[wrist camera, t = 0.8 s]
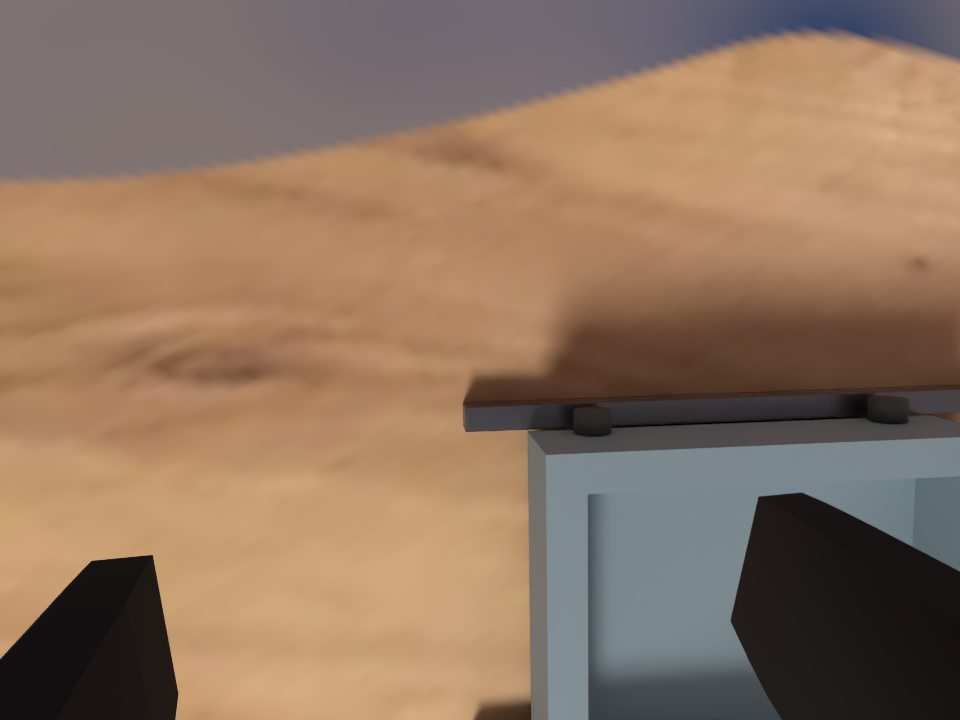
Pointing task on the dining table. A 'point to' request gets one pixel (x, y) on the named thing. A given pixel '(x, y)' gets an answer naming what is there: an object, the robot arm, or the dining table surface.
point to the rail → (705, 407)
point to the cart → (698, 546)
